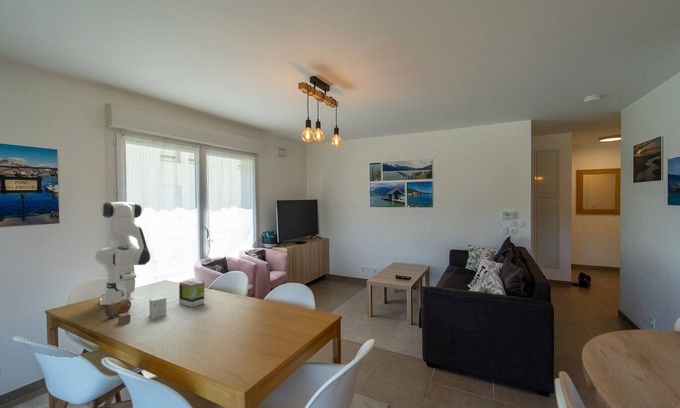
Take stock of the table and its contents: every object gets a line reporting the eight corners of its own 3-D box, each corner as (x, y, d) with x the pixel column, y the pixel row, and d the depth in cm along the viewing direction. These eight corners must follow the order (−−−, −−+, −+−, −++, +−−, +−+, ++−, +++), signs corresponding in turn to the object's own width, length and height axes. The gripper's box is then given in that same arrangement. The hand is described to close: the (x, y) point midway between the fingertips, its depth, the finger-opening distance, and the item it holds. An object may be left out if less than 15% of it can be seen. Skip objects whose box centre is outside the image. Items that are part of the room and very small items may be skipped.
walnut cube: (118, 322, 166) (118, 314, 166) (127, 319, 169) (127, 312, 169) (120, 324, 163) (120, 316, 163) (130, 321, 167) (130, 314, 167)
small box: (164, 312, 181) (164, 295, 181) (166, 314, 177) (166, 297, 177) (149, 315, 175) (149, 298, 175) (151, 318, 171) (151, 300, 171)
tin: (108, 319, 169) (108, 305, 169) (103, 319, 170) (103, 305, 170) (131, 310, 184) (131, 297, 184) (127, 310, 185) (127, 297, 185)
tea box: (204, 303, 198) (205, 281, 198) (190, 307, 190) (190, 285, 190) (192, 299, 206) (192, 278, 206) (178, 303, 198) (178, 282, 198)
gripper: (112, 272, 170) (112, 296, 170) (123, 277, 158) (124, 302, 157) (125, 270, 175) (125, 293, 175) (137, 275, 163) (137, 299, 162)
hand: (125, 297), depth 166 cm, fingers open, 8 cm apart
